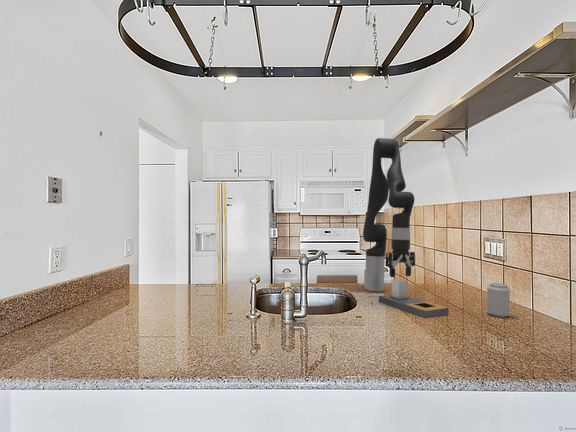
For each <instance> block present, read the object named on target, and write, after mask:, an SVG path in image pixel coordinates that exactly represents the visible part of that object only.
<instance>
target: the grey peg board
mask: <svg viewBox="0 0 576 432" xmlns="http://www.w3.org/2000/svg"><path fill="white" fill-rule="evenodd" d="M378 302H379V303H381V304H383V305H386V306H389V307H392V308H394V309H395V308H396V309H399V310H401V311H403V312H406V313H407V312H408V313H411V314H413V315H416V316H418V317H422V318H425V319H426V318H427V319H428V318H433V317H434V318H435V317H440V316H441V317H442V316H446V315H447V316H448V315H449V307H448V306H444V305H441V304H438V303H434V302H430V301H425V300H422V299H418V298H416V297H411V296H408V295H407V299H406V300H397V299H393V298H392V294H389V295H388V294H387V295H386V294H385V295H379V296H378Z"/></svg>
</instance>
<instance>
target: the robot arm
mask: <svg viewBox="0 0 576 432" xmlns="http://www.w3.org/2000/svg"><path fill="white" fill-rule="evenodd" d="M373 143H374V144H373V149H372V167H371V178H370V183H369V188H368V189H369V191H368V199H367V200H368V202H367V208H366V215H365V220H364V225H363V229H362V230H363V231H362V238H363V240H364V241H365V242H366V243H375V244H374V245H373V246H372V247H370V248H367V249H366V251H365V269H364V274H363V275H364V282H363V283H364V284H363V288H364V290H365V291H369V292H370V291H371V292H384V291H385V267H386V268H389V277H390V278H396V266H397V265H398V264H399V263H403V264H404V265H405V276H406V277H411V275H412V268H413V267H415V266H416V253H415V251H410V249H411V230H410V229H411V225H410V224H411V219H410V218H411V216H412V215H411V214H412V212H413V208H414V204H415V195H414V194H413V192H411V191H404V190H405V189H406V185H407V183H406V182H405V181H406V180H405V177H404V173H403V171H402V170H403V169H402V161H401V152H400V150H401V149H400V145H399V141H398V140H396V139H394V138H386V137H385V138H384V137H378V138H377V139H375V140H374V142H373ZM382 159H391V165H390V166H389V168H388V169H387V172H386V175H385V173H384V171H383V168H382ZM386 203H388V204H389V206H390V207H391V208H392V209H402V212H400V213H399V212H398V213H395V214H393V215H392V226H391V227H392V228H391V249H392V252H389V251H388V252H386V250H387V249H386V248H387V237H388V234H387V233H388V230H387V227H386V225H385V224H383V223H375V221H376V217H377V216H378V214H379V212H380V211H381V210H382V208H383V207H384V206H385V204H386Z"/></svg>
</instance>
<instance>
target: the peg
mask: <svg viewBox="0 0 576 432" xmlns="http://www.w3.org/2000/svg"><path fill="white" fill-rule="evenodd" d="M408 284H409V283H408V280H404V279H392V280H391V295H392V298H393V299H397V300H406V299H407V296H408V290H409V289H408V286H409V285H408Z"/></svg>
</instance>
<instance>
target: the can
mask: <svg viewBox="0 0 576 432" xmlns="http://www.w3.org/2000/svg"><path fill="white" fill-rule="evenodd" d="M486 291H487V292H486V312H487V313H488V315H490V316H493V317H496V316H498V317H497V318H506V316H507V317H508V316H509V315H510V305H511V304H510V302H511V301H510V299H511V294H510V293H511V289H510V288H509V285H508V284H505V283H499V282H489V285H488V286H487V287H486Z"/></svg>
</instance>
